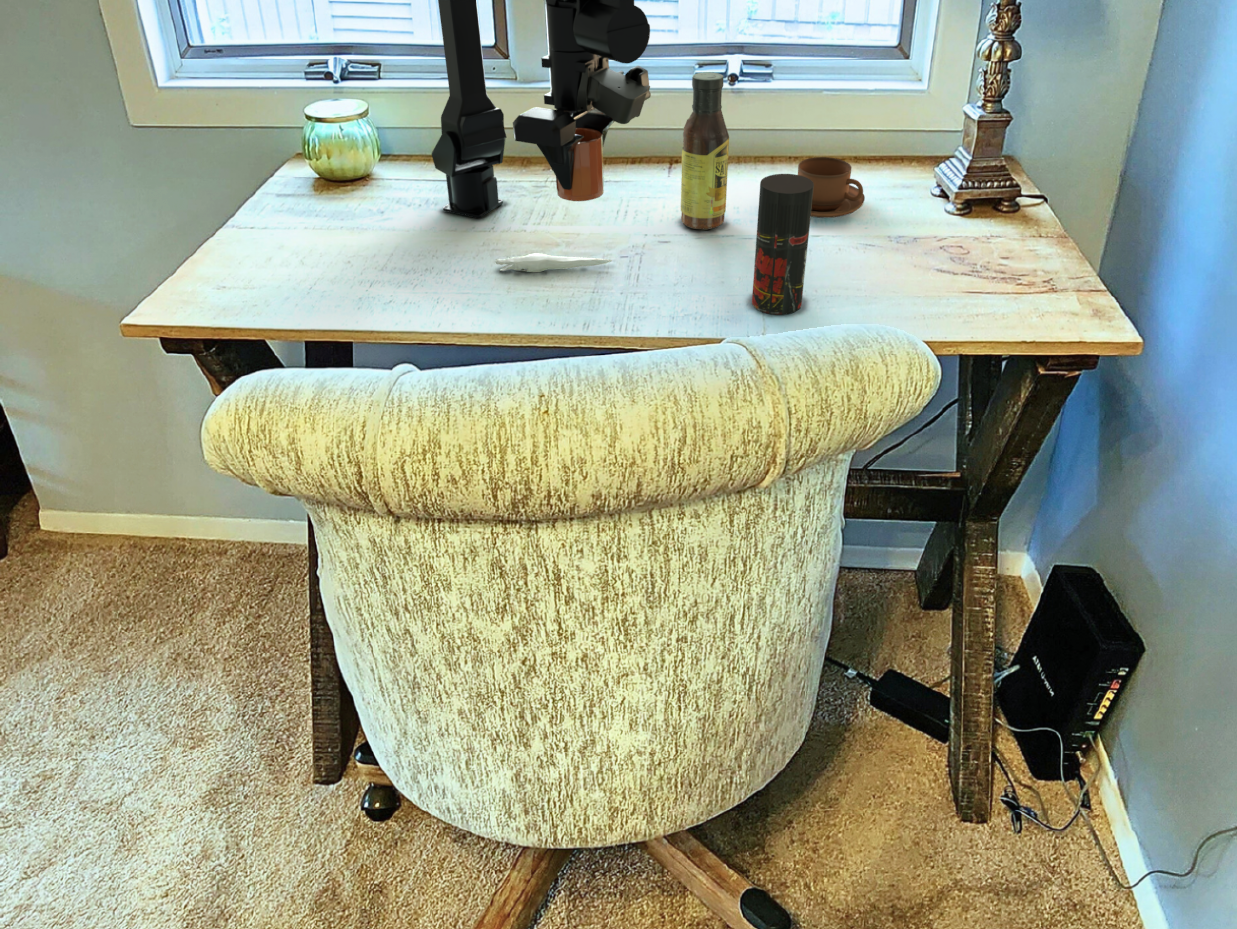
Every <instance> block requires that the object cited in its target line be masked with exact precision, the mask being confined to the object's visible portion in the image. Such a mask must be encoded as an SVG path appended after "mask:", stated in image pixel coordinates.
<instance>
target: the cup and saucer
mask: <svg viewBox="0 0 1237 929" xmlns="http://www.w3.org/2000/svg"><path fill="white" fill-rule="evenodd" d="M797 175H800V176H804V177H806V178H808V179H810V180H811V181H812V182H813V183H814V189H813V198H812V208H811V217H812V218H819V219H821V218H822V219H823V218H824V219H829V218H838V217H844V216H847V215H848V216H849V215H850V214H853V213H854V212H856V211H857V210H859V209H860V208H861V207H863V205H864V203H865V199H866V196H865V194H864V187H863V184H862V183H861V182H860V181H859V180H857V179H855V178H851V175H852V165H851V164H850V163H849V162H848V161H845V160H843V159H840V158H837V157H828V156H815V157H814V156H813V157H809V158H805V159H802V160H801V161H800V162H799V163H798V166H797ZM854 185H855V186H856V187H855V186H854Z"/></svg>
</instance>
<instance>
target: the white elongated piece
mask: <svg viewBox="0 0 1237 929" xmlns="http://www.w3.org/2000/svg"><path fill="white" fill-rule="evenodd" d="M612 261H613V260H611V259H607V258H597V257H584V256H583V257H582V256H580V257H579V256H566V255H565V256H561V255H560V256H559V255H557V256H556V255H549V254H546V253H541V252H536V253H529V254H526V255H522V256H514V257H513V256H511V257H509V256H508V258H503V259H502V258H496V259H495V260H494V262H495V265H500V266H502V267H501V268H500V269H499V272H504V271H509V270H512V271H513V270H514V271H519V272H520V271H521V272H526V273H540V272H543V271H546V270H565V269H566V270H567V269H571V268H573V269H574V268H580V267H594V266H600V265H604V264H608V263H611V262H612Z"/></svg>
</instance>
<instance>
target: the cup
mask: <svg viewBox="0 0 1237 929" xmlns="http://www.w3.org/2000/svg"><path fill="white" fill-rule="evenodd" d="M575 134H576V135H583V136H584V138H583V139H582V140H581V141H580V142H579V143H578V144H577V145H576V147H575V149H574V169H573V183H572V189H570V190H567V189H563V188H562V186H561V184H560V183H559V181H558V179H557V177H556V176H555V183H556V192H557V196H558V197H559V198H560V199H562V200H566V201H571V202H586V201H587V202H588V201H592V200H597V199H598V198H600V197H602V196H603V195H604V193H605V190H604V189H605V178H604V177H605V176H604V175H605V174H604V146H603V142H602V134H601V133H600V132H599V131H597V130H594V129H588V128H576V131H575Z"/></svg>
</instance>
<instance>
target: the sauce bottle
mask: <svg viewBox="0 0 1237 929" xmlns="http://www.w3.org/2000/svg"><path fill="white" fill-rule="evenodd" d="M691 80H692V81H691V86H692V87H691V88H692V105H691V108H692V112H691V114H690V115H689V117H688V118H687V119H686V121H685V124H684V126H683V133H682V138H683V140H682V147H681V178H680V180H681V183H680V184H681V188H680V211H681V219H680V220H681V222H682V224H683V225H684V226H686V227H688V228H690V229H694V230H712V229H716V228H718V227H720V226H721V225H723V224H724V222H725V215H726V212H727V211H726V208H727V190H728V171H729V152H730V151H729V150H730V135H729V132H728V128H727V125H726V122H725V118H724V115H723V111H722V108H723V106H722V93H723V87H724V75H723V74H721V73H719V72H713V71H712V72H711V71H704V72H697V73H695V74H693V75H692V77H691Z"/></svg>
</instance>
